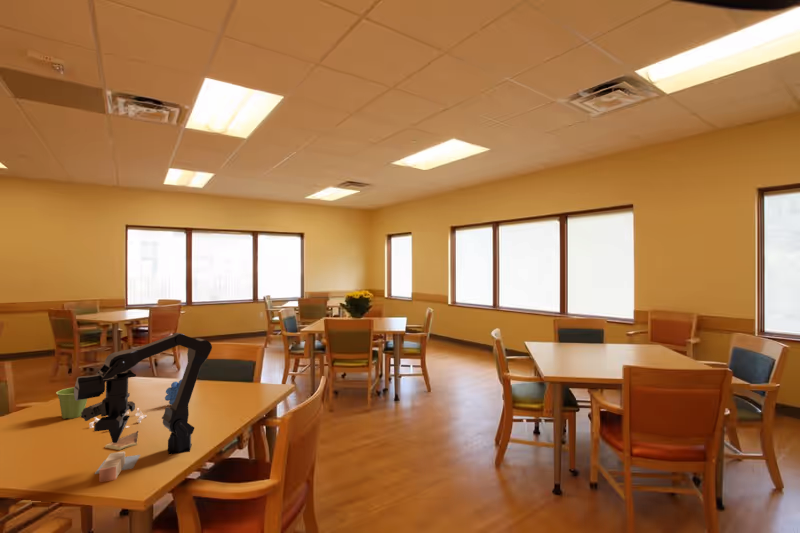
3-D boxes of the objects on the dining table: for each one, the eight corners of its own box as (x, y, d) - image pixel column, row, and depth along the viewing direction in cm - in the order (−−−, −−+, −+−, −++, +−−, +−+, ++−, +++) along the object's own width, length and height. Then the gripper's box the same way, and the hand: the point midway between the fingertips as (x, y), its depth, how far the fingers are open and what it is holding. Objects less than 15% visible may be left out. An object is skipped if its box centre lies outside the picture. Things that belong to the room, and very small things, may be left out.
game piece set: (157, 417, 167) (157, 408, 167) (112, 435, 148) (112, 425, 148) (123, 412, 172) (123, 404, 172) (75, 429, 153) (75, 420, 153)
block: (125, 451, 124) (115, 467, 115) (125, 463, 124) (115, 480, 115) (110, 453, 122) (99, 470, 113) (110, 465, 123) (99, 483, 113)
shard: (138, 435, 148) (138, 429, 148) (156, 438, 146) (156, 432, 146) (103, 449, 136) (103, 443, 136) (123, 453, 133) (123, 447, 133)
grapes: (193, 400, 189) (193, 376, 189) (192, 404, 183) (192, 379, 183) (165, 403, 184) (166, 378, 184) (163, 407, 178) (164, 382, 178)
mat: (140, 455, 131) (140, 454, 131) (132, 469, 122) (132, 468, 122) (105, 460, 127) (105, 459, 127) (94, 475, 118) (94, 474, 118)
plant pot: (70, 422, 159) (71, 395, 159) (47, 419, 161) (48, 393, 162) (97, 412, 171) (98, 387, 171) (76, 410, 173) (77, 385, 173)
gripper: (96, 387, 127) (94, 434, 126) (73, 405, 109) (71, 460, 109) (136, 384, 131) (134, 430, 131) (119, 400, 114) (118, 453, 113)
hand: (115, 442), depth 121 cm, fingers closed
